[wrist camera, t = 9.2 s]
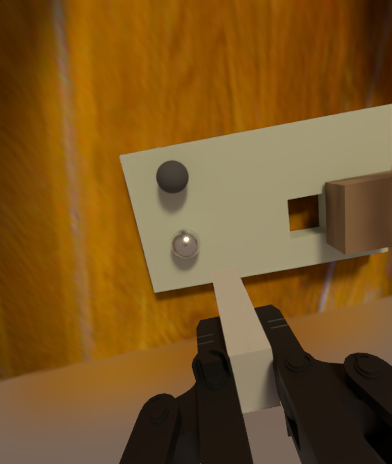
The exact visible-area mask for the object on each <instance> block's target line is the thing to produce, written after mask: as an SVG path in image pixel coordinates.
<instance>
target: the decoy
mask: <svg viewBox="0 0 392 464" xmlns="http://www.w3.org/2000/svg"><path fill="white" fill-rule="evenodd" d="M156 180H157V183H158V185H159V187H160V188H161V189H162V190H163V191H165V192H167V193H171V194H174V193H178V192H180V191H182V190H183V189H184V188H185V187H186V186H187V183H188V180H189V175H188V171H187V169H186V167H185V166H184V165H183V164H182V163H180V162H178V161H174V160H170V161H166V162H164V163H163V164H161V165H160V167H159V168H158V170H157V173H156Z"/></svg>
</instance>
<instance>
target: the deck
mask: <svg viewBox="0 0 392 464" xmlns="http://www.w3.org/2000/svg"><path fill="white" fill-rule="evenodd" d="M119 156H120V160H121V164H122V168H123V172H124V176H125V180H126V184H127V187H128V191H129V195H130V199H131V203H132V207H133V211H134V215H135V219H136V223H137V226H138V230H139V234H140V238H141V242H142V246H143V250H144V254H145V258H146V261H147V265H148V269H149V273H150V277H151V281H152V285H153V289H154V293H156V292H162V291H167V290H173V289H179V288H184V287H190V286H196V285H201V284H207V283H213V281H212V276H211V271H215V270H220V269H224V268H229V267H233V266H235V267H236V269H237V271H238V274H239V276H240V278H241V277H247V276H252V275H258V274H264V273H269V272H275V271H281V270H286V269H292V268H298V267H303V266H309V265H315V264H320V263H326V262H332V261H337V260H343V259H349V258H354V257H360V256H365V255H371V254H377V253H382V252H388V247H387V248H382V249H376V250H370V251H365V252H359V253H354V254H348V255H345V254H343V253H341V252H340V251H338V250H336V249H335V248H333V247H332V246H330V245H328V244H327V235H326V203H325V182H330V181H335V180H341V179H346V178H352V177H357V176H362V175H368V174H373V173H379V172H384V171H390V170H391V167H392V104H388V105H383V106H378V107H373V108H367V109H362V110H357V111H352V112H346V113H341V114H336V115H330V116H325V117H320V118H315V119H309V120H304V121H299V122H293V123H288V124H283V125H278V126H272V127H267V128H262V129H257V130H251V131H246V132H241V133H235V134H230V135H225V136H220V137H214V138H209V139H204V140H199V141H193V142H188V143H183V144H177V145H172V146H167V147H162V148H156V149H151V150H146V151H140V152H135V153H130V154H125V155H119ZM170 160H174V161H178V162H180V163H182V164H183V165H184V166H185V167H186V169H187V171H188V175H189V180H188V183H187V186H186V187H185V188H184V189H183V190H182V191H180V192H178V193H174V194H171V193H167V192H165V191H163V190H162V189H161V188H160V187H159V185H158V183H157V180H156V173H157V170H158V168H159V167H160V165H161V164H163V163H164V162H166V161H170ZM317 194H318V209H319V227H313V228H308V229H302V230H296V231H291V232H290V228H289V215H288V202H287V200H289V199H295V198H300V197H306V196H311V195H317ZM183 228H189V229H192V230H194V231H195V232H196V233H197V234H198V235H199V237H200V240H201V247H200V249H199V251H198V253H197V254H196V255H194V256H193V257H191V258H181V257H179V256H177V255H176V254H175V253H174V252H173V250H172V248H171V239H172V236H173V235H174V233H175V232H177V231H178V230H180V229H183Z"/></svg>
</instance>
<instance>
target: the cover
mask: <svg viewBox="0 0 392 464" xmlns="http://www.w3.org/2000/svg"><path fill="white" fill-rule="evenodd" d="M325 203H326V235H327V244H328V245H330V246H332V247H333V248H335V249H336V250H338V251H340V252H341V253H343V254H345V255H348V254H354V253H359V252H365V251H370V250H376V249H382V248H387V247H392V170H390V171H384V172H379V173H373V174H368V175H362V176H357V177H352V178H346V179H341V180H335V181H330V182H325Z"/></svg>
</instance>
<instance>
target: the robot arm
mask: <svg viewBox="0 0 392 464" xmlns="http://www.w3.org/2000/svg"><path fill="white" fill-rule="evenodd" d="M211 276H212V281H213V285H214V290H215V295H216V300H217V305H218V309H219V314H220V316H219V317H214V318H209V319H205V320H200V322H199V324H198V326H197V328H196V329H197V344H198V345H197V346H198V354H197V355H196V356H195V358H194V359H193V362H192V369H193V373H194V376H195V379H196V383H195V385H194V386H193V387H192V388H191V389H190V390H188V391H187V392H186V393H184V394H182V395H180V396H179V397H177V398H174V397H173V396H172V395H169V394H165V393H164V394H158V395H156V396H154V397H152V398H150V399H149V400H148V401H147V402H146V403H145V404H144V406H143V407H142V409H141V411H140V413H139V415H138V418H137V420H136V423H135V425H134V428H133V431H132V433H131V435H130V438H129V440H128V443H127V445H126V448H125V450H124V453H123V455H122V458H121V460H120V463H119V464H200V463H201V464H253V459H252V455H251V450H250V446H249V441H248V437H247V432H246V427H245V423H244V419H243V414H242V413H246V412H252V411H257V410H261V409H267V408H272V407H277V406H280V401H281V403H282V406H283V408H284V413H285V419H286V425H287V432H288V436H292V439H293V441H294V444H295V447H296V450H297V453H298V455H299V458H300V460H301V463H302V464H392V366H391V365H389V364H388V363H387V362H385V361H384V360H382V359H380V358H379V357H377V356H374V355H371V354H368V353H354V354H350V355H349V356H348V357H346V358H345V361H344V364H339V363H328V362H322V361H319V360H316V359H314V358H313V357H312V356H311V355H310V354H309V353H307V352H305V351H304V350H303V349H302V347H301V345H300V344H299V342H298V340H297V339H296V337H295V335H294V333H293V332H292V330H291V329H290V327H289V325H288V324H287V322H286V320H285V319H284V317H283V315H282V314H281V312H280V310H279V309H277V308H276V307H274V306H273V305H267V306H262V307H258V308H253V305H252V303H251V301H250V298H249V296H248V294H247V292H246V289H245V287H244V285H243V283H242V280H241V278H240V276H239V274H238V271H237V269H236V267H235V266H233V267H229V268H224V269H220V270H215V271H211ZM279 398H280V399H279Z"/></svg>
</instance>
